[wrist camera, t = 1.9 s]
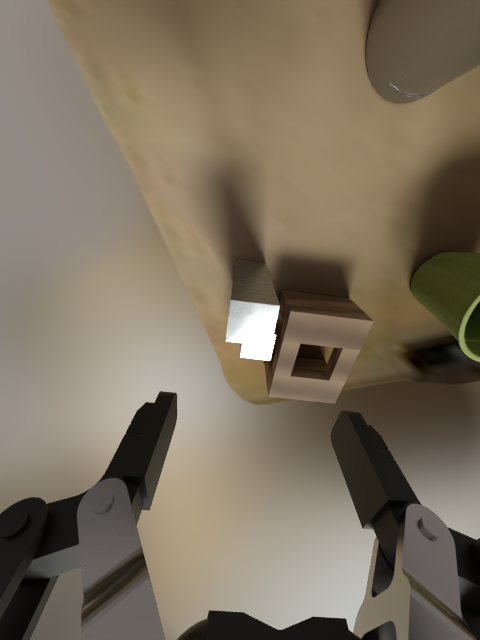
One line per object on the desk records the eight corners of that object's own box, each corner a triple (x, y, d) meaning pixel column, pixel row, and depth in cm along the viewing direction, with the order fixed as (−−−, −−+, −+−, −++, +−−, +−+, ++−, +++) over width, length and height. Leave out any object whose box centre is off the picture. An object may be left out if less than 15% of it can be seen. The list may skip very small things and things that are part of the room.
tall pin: (236, 259, 30) (230, 299, 18) (265, 262, 30) (280, 306, 18) (233, 287, 32) (225, 341, 19) (260, 290, 32) (270, 346, 20)
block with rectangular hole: (281, 289, 32) (290, 311, 26) (349, 298, 32) (373, 321, 26) (264, 365, 38) (268, 396, 32) (320, 371, 39) (335, 403, 33)
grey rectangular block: (244, 307, 33) (244, 331, 27) (270, 310, 33) (276, 335, 27) (240, 329, 35) (240, 357, 29) (265, 332, 35) (270, 360, 29)
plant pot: (397, 326, 34) (458, 377, 24) (387, 256, 29) (460, 284, 19) (484, 298, 32) (592, 342, 22) (489, 215, 27) (633, 224, 17)
